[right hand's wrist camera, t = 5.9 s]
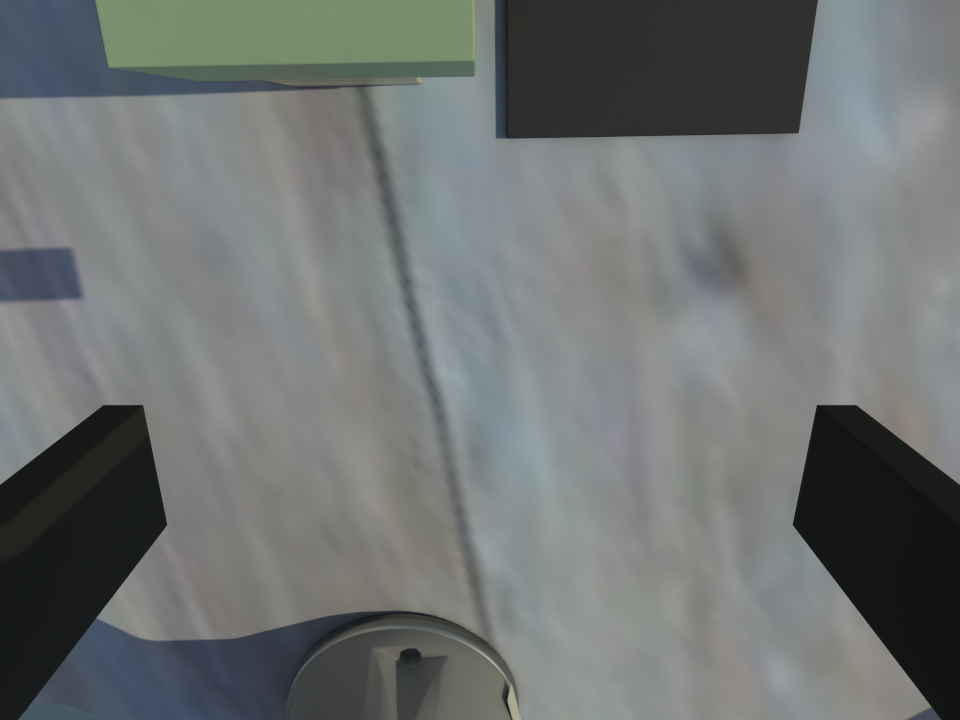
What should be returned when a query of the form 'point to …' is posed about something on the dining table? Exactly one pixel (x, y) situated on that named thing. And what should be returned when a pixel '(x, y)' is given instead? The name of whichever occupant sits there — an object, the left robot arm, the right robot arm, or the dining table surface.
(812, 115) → the dining table surface
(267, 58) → the sage block
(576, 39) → the rubber mat
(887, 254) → the dining table surface
